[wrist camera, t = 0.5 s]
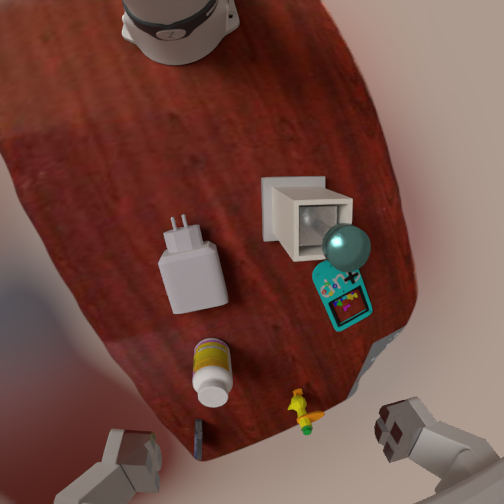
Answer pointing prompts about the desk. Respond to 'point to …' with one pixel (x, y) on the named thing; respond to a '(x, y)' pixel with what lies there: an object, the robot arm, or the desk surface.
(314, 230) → the plunger
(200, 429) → the mini dv tape
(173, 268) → the charger
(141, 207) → the desk surface
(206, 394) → the supplement bottle
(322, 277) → the handheld gaming console
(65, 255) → the desk surface
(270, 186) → the press housing
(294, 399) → the toy figure
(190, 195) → the desk surface
